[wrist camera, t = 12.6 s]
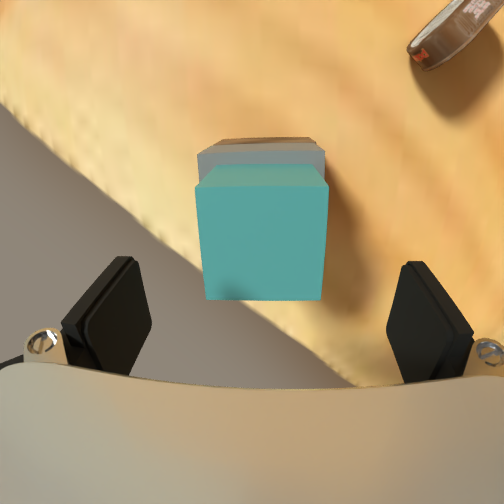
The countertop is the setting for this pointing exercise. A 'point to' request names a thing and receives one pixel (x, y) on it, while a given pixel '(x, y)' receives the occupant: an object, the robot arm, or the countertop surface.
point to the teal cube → (262, 231)
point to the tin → (451, 31)
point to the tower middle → (261, 155)
